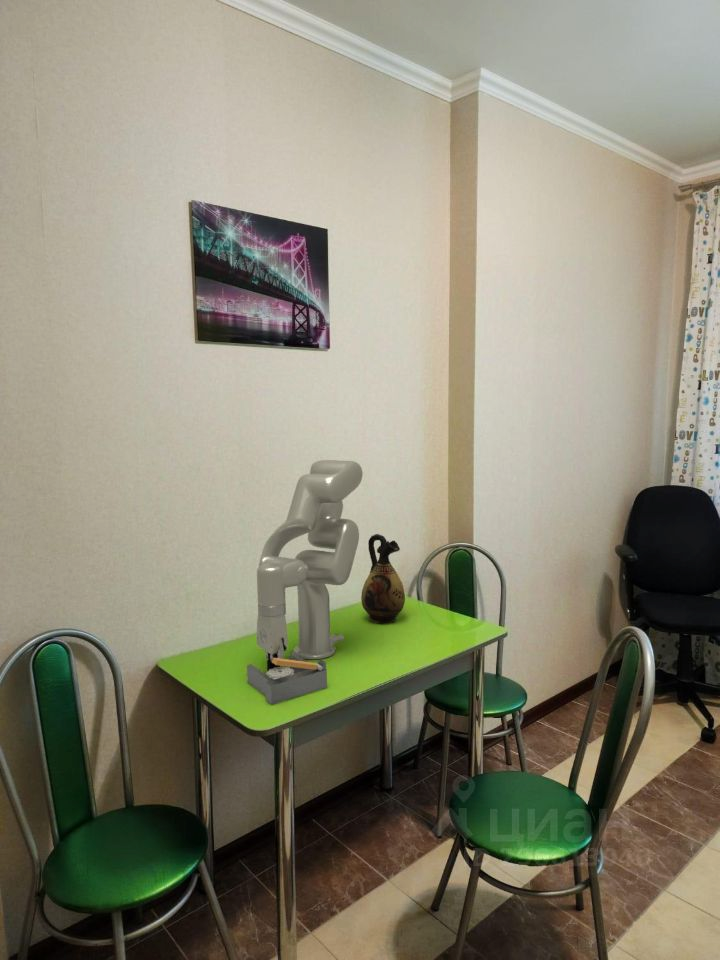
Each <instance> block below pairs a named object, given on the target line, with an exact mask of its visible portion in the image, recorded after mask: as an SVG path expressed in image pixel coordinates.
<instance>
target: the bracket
mask: <svg viewBox="0 0 720 960" xmlns="http://www.w3.org/2000/svg"><path fill="white" fill-rule="evenodd" d="M289 660H296V661H303V662H309V661H308V660H307V659H304V658H301V657H300V656H298V655H296V654H295V653H294V652H291V653H289ZM317 664H319V665H321V666H322V667H323V669H322V670H321V671H320V670H318V669H316V670H314V669H305V668H297V667H289V668H290V669H293V670H294V674H292V675H288V676H285V677H281V678H278V679H274V680H273V679H272V678H270V677H269V676H267V675H266V673H265V672H263V670H261V669H259V668H258V667H256V666H255V665H254V664H251V663H250V664H249V663H248V664H247V665H246V676H247V679H246V681H247V684H249V685H250V686H251V687H252V688H254V689H255V690H257V691H258V692H259V693H261V694H262V695H264V697H265V701H266V702H267V703H268V704H269V705H271V706H273V704H274V705H276V703H277V704H280V703H282V701H283V702H286V701H289V700H292V699H291V698H293V699H295V697H296V698H299V697H302V696H305V695H308V694H307V693H309V694H311V693H310V692H312V693H314V692H313V691H315V692H318V691H320V689H321V690H324V689H323V688H325V689H327V688H328V672H327V671H328V670H327V662H326V661H324V660H321V659H318V661H317ZM326 687H327V688H326ZM317 690H318V691H317ZM304 694H305V695H304ZM301 695H302V696H301ZM298 696H299V697H298ZM288 699H289V700H288ZM285 700H286V701H285ZM279 702H280V703H279Z"/></svg>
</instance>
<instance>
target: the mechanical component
mask: <svg viewBox="0 0 720 960" xmlns="http://www.w3.org/2000/svg"><path fill="white" fill-rule="evenodd" d="M265 674H266V675H267V676H269V677H270V678H272V679H273V680H274V679H278V678H281V677H285V676H288V675H292V674H294V670H293V669H290V667H288V666H280V667H277V668H276V667H274V668H273V669H269V671H268V672H267V671H266V673H265Z"/></svg>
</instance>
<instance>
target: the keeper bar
mask: <svg viewBox="0 0 720 960" xmlns="http://www.w3.org/2000/svg"><path fill="white" fill-rule="evenodd" d="M272 663H274V664H275V665H280V667H281V666H282V667H289V668H290V667H297V668H305V669H314V670H316V669H318V670H320V671H321V670H322V669H323V667H322V666H321V665H319V664H318V662H310V661H308V662H303V661H296V660H290V659H286V658H281V659H280V658H273V661H272Z"/></svg>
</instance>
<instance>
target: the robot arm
mask: <svg viewBox="0 0 720 960" xmlns="http://www.w3.org/2000/svg"><path fill="white" fill-rule="evenodd" d="M362 480H363V468H362V466H361V465H360V463H358V462H357V461H353V460H337V459H336V460H335V459H332V460H331V459H330V460H329V459H325V460H324V459H323V460H317V461H315V462H313V463H312V464H311V466H310V471H309V473H307V474H306V473H305V474H304V475H301V476H300V477H299V479H298V480H297V482H296V486H295V489H294V493H293V497H292V500H291V503H290V507H289V509H288V513H287V517H286V520H285V521H284V522H283V523H282V524H281V525H280V526H278V527H277V528H276V529H275V530H274V531H273V533H272V534H271V535H270V536H269V537H268V539H267V540H266V541H265V543H264V546H263V549H262V551H261V556H260V559H259V563H258V567H257V569H256V583H257V584H256V586H257V588H256V589H257V613H258V614H257V619H256V645H257V646H258V647H259V648H260V649H262V650H263V651H265V658H266V664H267V665H266V667H267V668H266V669H267V671H266V672H268V671H269V669H273V668H274V667H276V668H277V667H281V666H280V665H275V664H274V663H272V661H273V658H280V659H285V652H286V651H287V650H288V645H289V644H288V630H287V620H286V614H287V612H286V611H287V610H286V609H287V608H286V588H291V587H292V588H293V587H297V589H296V590H297V606H298V607H297V609H298V611H297V612H298V614H297V615H298V619H297V620H298V644H297V645H295V647H294V649H293V653H295V654H296V655H298V656H300V657H301V658H303V659H305V660H321V659H326V658H330V657H331V656H333V655H334V654H335V653H336V645H334V644H336V643H338V642H343V641H344V639H345V637H344V635H343V634H342V633H341V634H339V635H336V634H335V633H332V634H331V620H330V619H331V617H330V615H331V613H330V593H329V590H328V588H327V585H333V586H341V585H344V584H345V583H346V582H347V581H348V580H349V577H350V574H351V572H352V569H353V564H354V562H355V557H356V552H357V548H358V545H359V540H360V529H359V526H358V525H357V523H356V522H355V521H354V520H353V519H348V518H341V517H342V514H343V509H344V504H343V500H345V499H346V498H347V497H348V496H349V495H350V494H351V493H353V492H354V491H355V490H356V489H357V488H358V487H359V486H360V484H361V482H362ZM306 534H307V541H308V543H309V544H310V545H311V546H312V547H316V548H319V549H328V550H334V552H333V551H325V550H315V549H306V550H305V549H304V550H301V551H300V552H299V553H297V554H296V556H295V558H289V557H285V556H284V557H282V556H280V553H281V552H282V550H283V549H284V547H285V546H286V545H287V544H288V543H289V542H290V541H292V540H295V539H296V538H298V537H301V536H303V535H306Z"/></svg>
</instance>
